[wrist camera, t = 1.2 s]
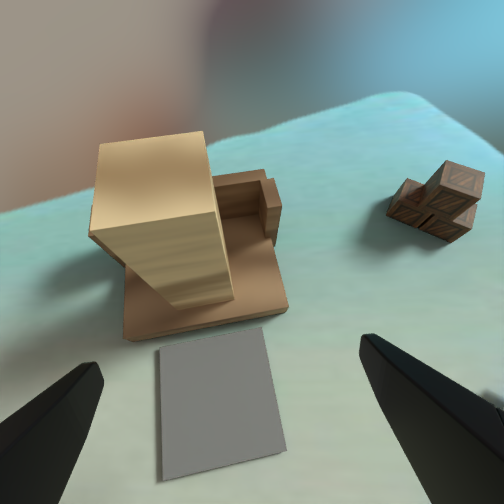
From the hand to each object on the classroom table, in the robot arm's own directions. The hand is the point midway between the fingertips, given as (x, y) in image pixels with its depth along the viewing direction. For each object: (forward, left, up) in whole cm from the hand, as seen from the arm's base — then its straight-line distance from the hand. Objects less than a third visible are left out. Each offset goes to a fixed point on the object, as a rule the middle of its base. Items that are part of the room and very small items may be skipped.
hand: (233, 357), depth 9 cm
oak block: (+2, +8, -12) cm, 15 cm away
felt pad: (-3, 0, -14) cm, 14 cm away
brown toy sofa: (+3, +10, -14) cm, 17 cm away
